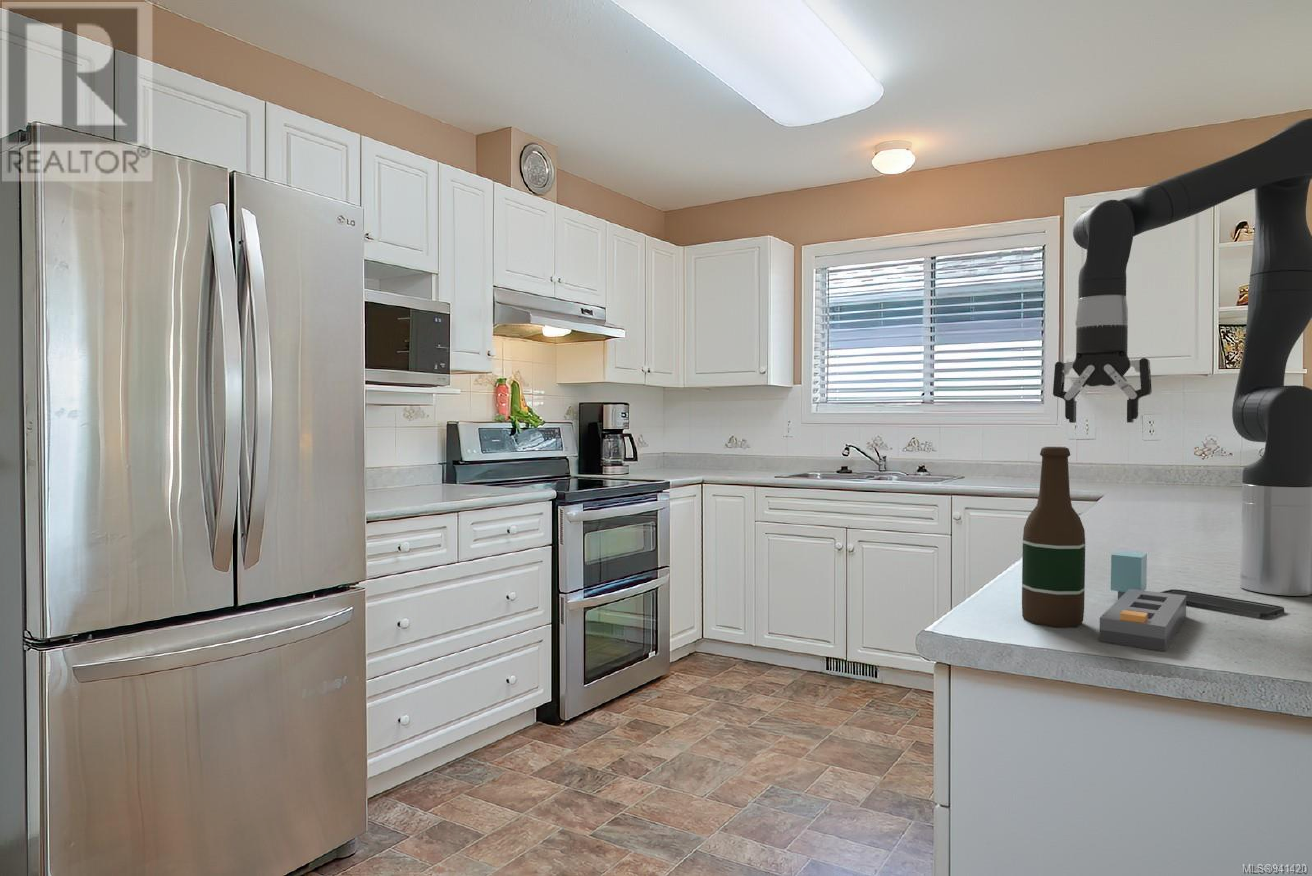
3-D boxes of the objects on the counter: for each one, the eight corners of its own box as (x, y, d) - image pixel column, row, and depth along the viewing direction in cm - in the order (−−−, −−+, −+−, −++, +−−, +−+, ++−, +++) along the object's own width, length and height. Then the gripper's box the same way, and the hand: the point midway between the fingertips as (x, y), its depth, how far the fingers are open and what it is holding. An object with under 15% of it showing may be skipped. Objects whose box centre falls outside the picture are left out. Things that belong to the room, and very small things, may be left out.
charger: (1116, 595, 128) (1117, 550, 127) (1146, 598, 125) (1146, 553, 125) (1110, 600, 124) (1111, 554, 124) (1140, 604, 121) (1141, 557, 121)
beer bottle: (1079, 616, 114) (1082, 446, 113) (1089, 630, 106) (1092, 448, 106) (1018, 612, 116) (1021, 445, 115) (1024, 625, 109) (1027, 447, 108)
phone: (1174, 588, 129) (1287, 607, 117) (1174, 595, 129) (1286, 614, 117) (1149, 594, 125) (1264, 614, 112) (1149, 601, 125) (1264, 622, 112)
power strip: (1129, 609, 118) (1129, 583, 118) (1185, 616, 114) (1186, 589, 114) (1099, 641, 101) (1099, 611, 101) (1164, 651, 97) (1165, 620, 97)
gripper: (1154, 324, 133) (1153, 422, 133) (1059, 330, 142) (1058, 422, 142) (1148, 320, 127) (1147, 422, 127) (1050, 326, 136) (1049, 422, 136)
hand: (1100, 422), depth 135 cm, fingers open, 8 cm apart
